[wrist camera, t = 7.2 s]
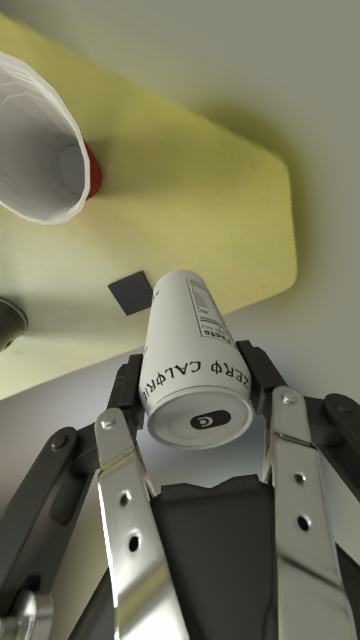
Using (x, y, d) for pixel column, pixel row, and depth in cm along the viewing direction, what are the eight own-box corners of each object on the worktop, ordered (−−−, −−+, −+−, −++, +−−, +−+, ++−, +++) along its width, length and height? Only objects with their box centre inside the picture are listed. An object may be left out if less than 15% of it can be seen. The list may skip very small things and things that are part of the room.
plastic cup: (33, 195, 26) (-52, 188, 16) (40, 95, 21) (-76, -5, 11) (108, 231, 29) (77, 245, 19) (130, 151, 24) (102, 113, 14)
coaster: (127, 314, 38) (127, 315, 37) (107, 285, 34) (107, 286, 34) (158, 302, 36) (158, 303, 36) (141, 270, 33) (141, 271, 33)
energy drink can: (145, 277, 20) (106, 404, 7) (198, 258, 19) (260, 362, 6) (165, 321, 23) (162, 464, 10) (211, 306, 22) (271, 439, 9)
